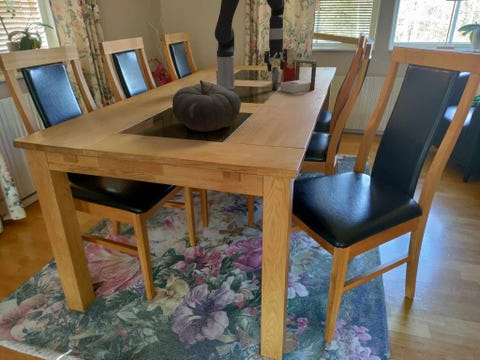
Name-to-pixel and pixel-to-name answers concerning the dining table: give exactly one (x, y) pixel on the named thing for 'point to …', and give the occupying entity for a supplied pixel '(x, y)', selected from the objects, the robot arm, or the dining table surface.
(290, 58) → the milk carton
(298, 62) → the grey arch
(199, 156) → the dining table surface
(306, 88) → the socket block
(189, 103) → the gourd
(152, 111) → the dining table surface
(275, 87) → the peg
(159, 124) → the dining table surface
